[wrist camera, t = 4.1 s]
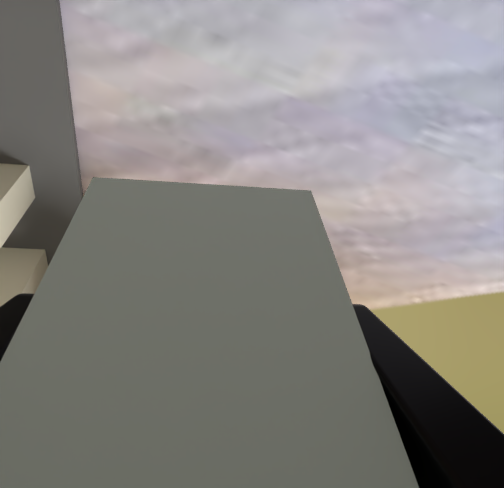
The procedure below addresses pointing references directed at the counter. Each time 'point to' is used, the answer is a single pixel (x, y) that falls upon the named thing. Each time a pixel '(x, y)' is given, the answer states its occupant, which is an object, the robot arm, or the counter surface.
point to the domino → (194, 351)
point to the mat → (38, 120)
